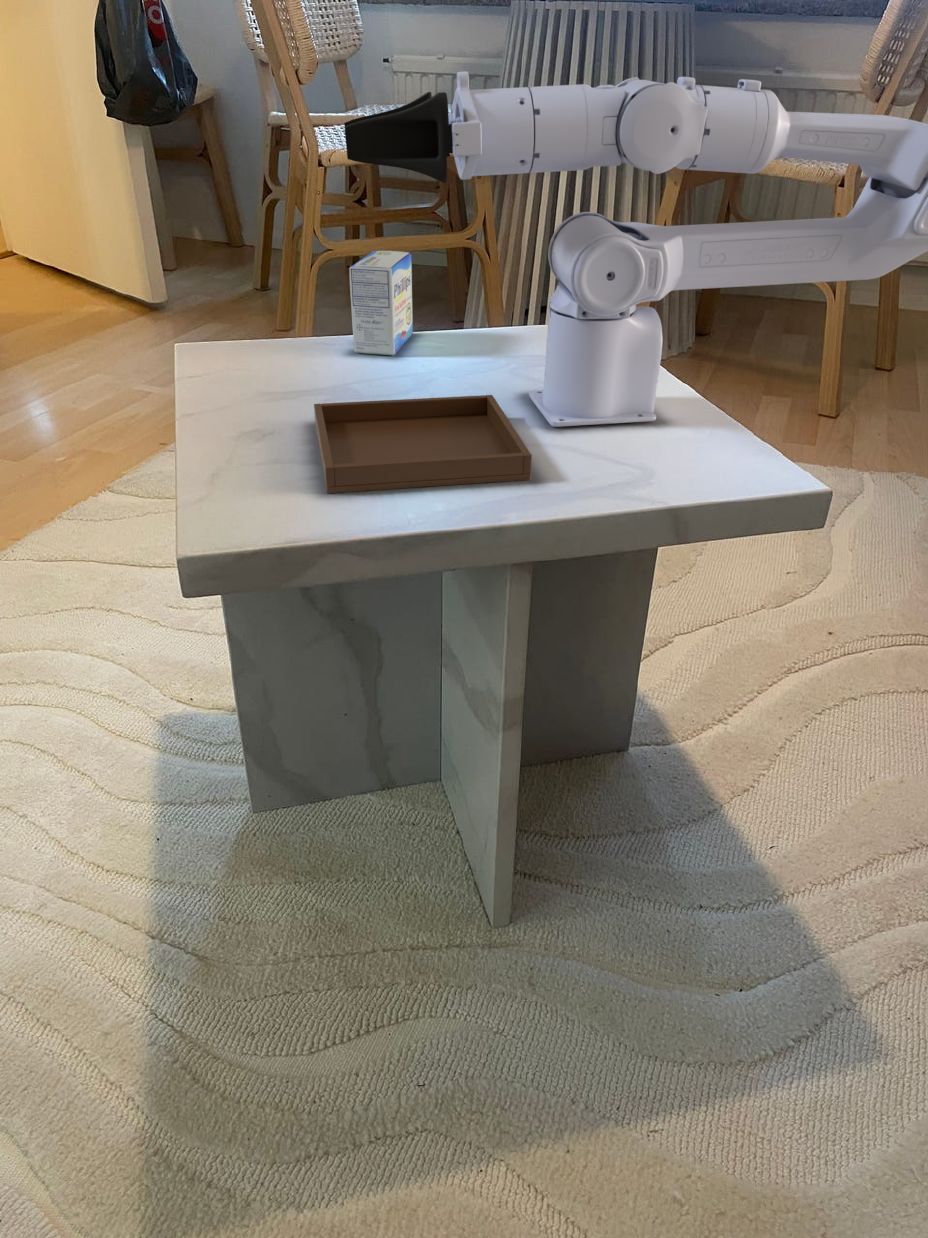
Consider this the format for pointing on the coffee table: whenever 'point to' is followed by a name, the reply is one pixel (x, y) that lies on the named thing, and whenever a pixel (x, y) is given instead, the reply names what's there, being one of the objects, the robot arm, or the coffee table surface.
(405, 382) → the coffee table surface
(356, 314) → the medicine box
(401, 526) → the coffee table surface
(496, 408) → the tray
